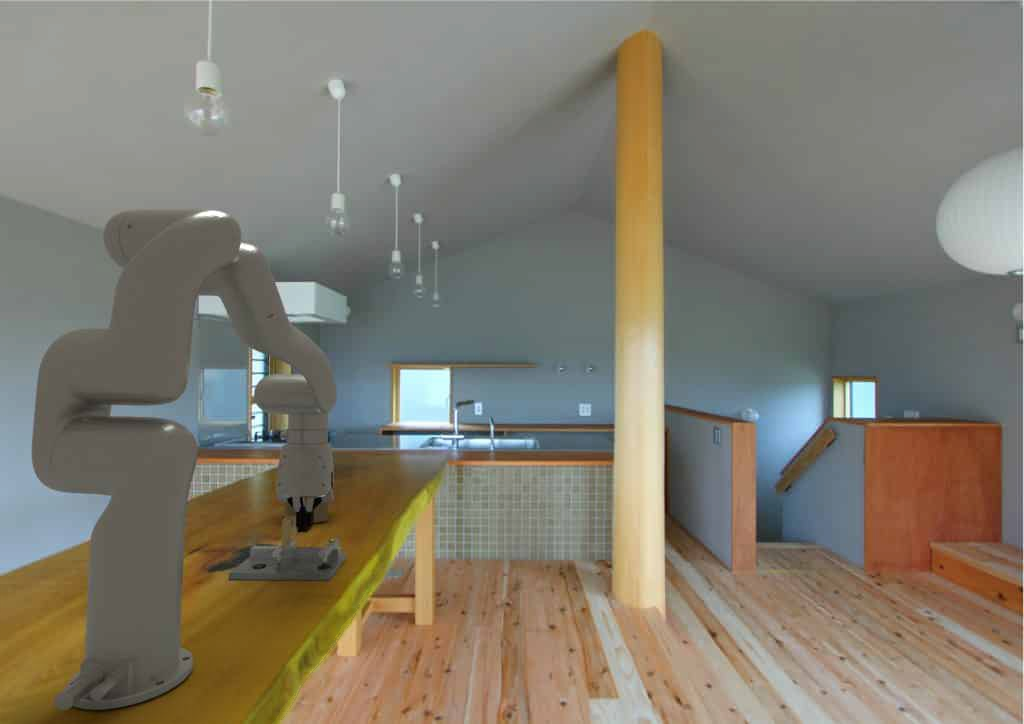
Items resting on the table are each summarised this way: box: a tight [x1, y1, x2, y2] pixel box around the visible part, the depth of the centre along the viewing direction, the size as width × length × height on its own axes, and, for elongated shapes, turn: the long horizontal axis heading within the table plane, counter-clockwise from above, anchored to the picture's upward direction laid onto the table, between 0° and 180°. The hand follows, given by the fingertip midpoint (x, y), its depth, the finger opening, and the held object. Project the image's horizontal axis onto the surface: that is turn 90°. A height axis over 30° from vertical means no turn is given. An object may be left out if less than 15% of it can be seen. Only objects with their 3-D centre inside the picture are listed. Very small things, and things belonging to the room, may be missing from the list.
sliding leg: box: [272, 516, 298, 566], centre depth 105 cm, size 8×2×8 cm, turn 3°
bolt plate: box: [228, 537, 347, 581], centre depth 105 cm, size 12×18×5 cm, turn 93°
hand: (304, 530), depth 107 cm, fingers closed
